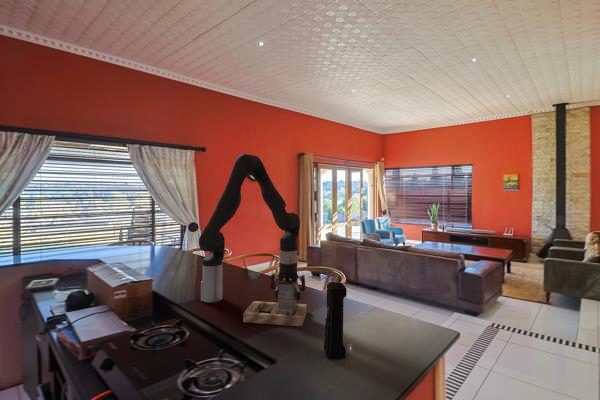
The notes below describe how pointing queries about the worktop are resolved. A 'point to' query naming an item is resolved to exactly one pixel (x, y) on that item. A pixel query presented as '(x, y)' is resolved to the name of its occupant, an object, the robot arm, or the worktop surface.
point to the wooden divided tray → (273, 314)
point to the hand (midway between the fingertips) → (287, 299)
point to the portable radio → (335, 321)
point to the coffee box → (287, 298)
